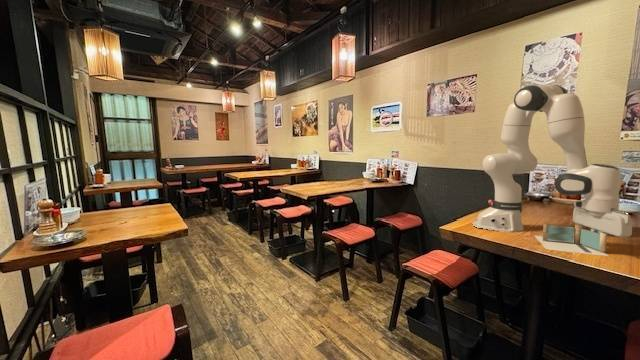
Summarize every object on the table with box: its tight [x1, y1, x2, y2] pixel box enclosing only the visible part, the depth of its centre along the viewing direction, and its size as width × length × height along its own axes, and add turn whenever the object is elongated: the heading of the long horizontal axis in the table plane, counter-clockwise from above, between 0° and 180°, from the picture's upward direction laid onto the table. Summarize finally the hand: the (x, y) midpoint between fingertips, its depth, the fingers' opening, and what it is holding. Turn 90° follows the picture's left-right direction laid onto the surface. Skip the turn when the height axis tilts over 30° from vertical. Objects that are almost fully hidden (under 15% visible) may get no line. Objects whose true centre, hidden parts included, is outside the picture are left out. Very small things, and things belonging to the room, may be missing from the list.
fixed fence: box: [542, 222, 584, 245], centre depth 110 cm, size 13×2×8 cm, turn 62°
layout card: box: [533, 235, 609, 257], centre depth 108 cm, size 18×19×1 cm
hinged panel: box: [580, 228, 608, 252], centre depth 102 cm, size 9×2×7 cm, turn 178°
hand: (598, 240), depth 101 cm, fingers closed
